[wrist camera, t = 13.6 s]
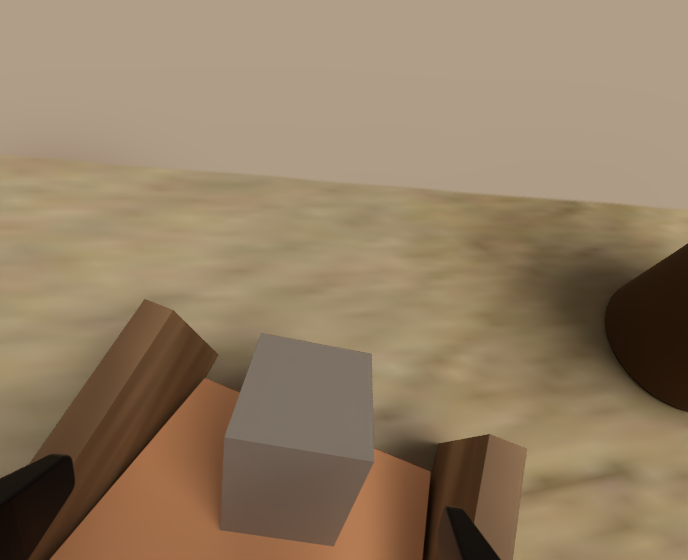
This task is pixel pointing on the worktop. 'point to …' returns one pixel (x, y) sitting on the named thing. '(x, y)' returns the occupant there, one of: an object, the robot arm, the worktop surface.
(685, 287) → the olive oil
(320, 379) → the stone
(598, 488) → the worktop surface
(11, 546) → the robot arm
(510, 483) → the frame
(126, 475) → the trapdoor
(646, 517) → the worktop surface
